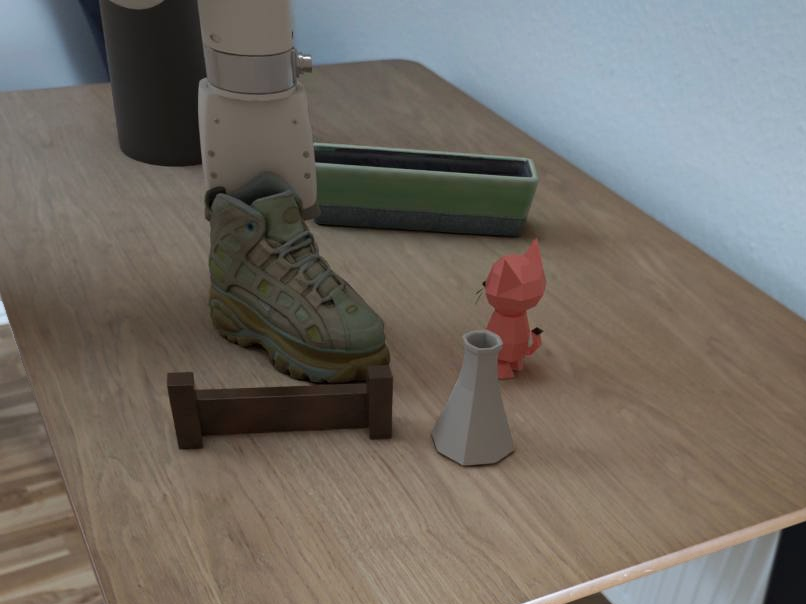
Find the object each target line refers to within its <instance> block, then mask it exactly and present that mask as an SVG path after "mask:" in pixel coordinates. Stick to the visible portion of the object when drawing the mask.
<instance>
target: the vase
mask: <svg viewBox="0 0 806 604" xmlns="http://www.w3.org/2000/svg"><path fill="white" fill-rule="evenodd" d="M98 4H99V10H100V17H101V26H102V30H103V31H102V32H103V39H104V45H105V53H106V61H107V65H108V66H107V67H108V74H109V82H110V89H111V96H112V104H113V109H114V118H115V125H116V130H117V138H118V144H119V148H120V150H121V152H122V153H123V154H124V155H126V156H127V157H129V158H131V159H133V160H136V161H138V162H142V163H147V164H151V165H158V166H170V167H171V166H174V167H175V166H177V167H178V166H191V165H199V164H202V155H201V144H200V132H199V117H198V92H199V82H200V80H202V79H204V78H207V74H206V66H205V58H204V50H203V41H202V34H201V26H200V18H199V9H198V1H197V0H164V1H163V2H161V3H160V4H158V5H156V6H154V7H151V8H147V9H139V10H138V9H129V8H126V7H123V6H120V5H117V4H115V3H113V2H111V1H110V0H98Z"/></svg>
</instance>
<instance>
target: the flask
mask: <svg viewBox="0 0 806 604" xmlns="http://www.w3.org/2000/svg"><path fill="white" fill-rule="evenodd" d="M461 342H462V343H463V346H464V354H463V360H462V363H461V364H462V365H461V368H460V372H459V375H458V378H457V380H456V382H455V383H454V386H453V388H452V391H451V393H450V395H449V397H448V399H447V400H446V402H445V404H444V406H443V408H442V410H441V412H440V414H439V416H438V418H437V419H436V420H435V423H434V425H433V427H432V429H431V431H430V433H431V436H432V439H433V442H434V445H435V448H436V451H437V452H439V453H440V454H442V455H444V456H446V457H447V458H449V459H451V460H453V461H454V462H456V463H458V464H460V465H461V466H474V465H486V464H496V463H497V462H499V461H501V460H502V459H504V458H505V457H506V456H508V455H509V454H511V453H512V452H513V451H515V450H516V446H515V443H514V439H513V435H512V432H511V429H510V425H509V422H508V418H507V414H506V410H505V406H504V402H503V398H502V393H501V390H500V385H499V383H500V382H499V379H498V370H497V362H498V353H499V351H500V350H501V349H502V348H503V342H502V340H501V338H500V336H499V335H497V334H495V333H492V332H490V331H488V330H486V329H478V330H477V329H474V330H471V331H468V332H466V333H465V334H463V335H462V336H461Z"/></svg>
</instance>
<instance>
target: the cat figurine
mask: <svg viewBox="0 0 806 604" xmlns="http://www.w3.org/2000/svg"><path fill="white" fill-rule="evenodd" d="M481 285H482V286H483V287H484V291H485V292H484V293H485V296H486V300H487V303H488V304H489V305H490V306H491V307H492V308H493V309H494V310H493V312H492V314H491V316H490V318H489V321H488V323H487V325H486V328H485V330H488V331H490V332H492V333H495V334H497V335H499V336H500V338H501V340H502V342H503V348H502V349H501V350H500V351H499V353H498V362H497V370H498V380H507V379H508V380H509V379H514V377H515V373H514V371H517V372H520V371H522V370H524V366H523V361H522V359H524V358H526V356H530V357H531V356H532V355H534V354H535V353H536V351H537V350H538V349H539V348H540V347H541V346H542V345H543V341H542V336H541V335H542V333H543V332H544V330H543V329H541V328H540V327H539V326H536V327H535V328H533V329H532V330H531V329H530V328H531V327H530V322H529V318H528V313H527V311H528V310H530V309H533V308H535V307H536V306H538V303H539V302H540V301H541V299H542V298H543V296H544V294H545V290H546V287H547V278H546V274H545V271H544V266H543V261H542V256H541V250H540V245H539V241H538V237H535V239H534V240H533V242H532V243H531V244H530V246H529V247H528V248H527V250H526V251H525V253H524V254H516V253H512V254H511V253H510V254H505V255H503V256H502V257H500V258H499V259H497V260H496V261H495V262H493V265H492V267H491V269H490V271H489V273H488V275H487V277H486V280H484V281H482V284H481ZM482 291H483V288H481V289H480V290H478V291H476V293H475V295H477V294H479V293H480V292H481V293H480V295H479V296H478V298H477V300H476V301H475V304H474V305H475V306H476V305H477V303H478V301H479V299H480V298H481V296H482V294H483V292H482ZM530 336H531V338H532V344H531V346H529V342H530Z"/></svg>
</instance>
